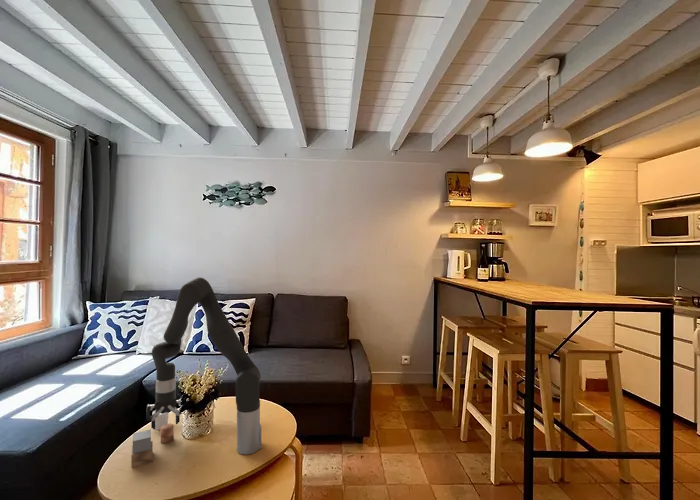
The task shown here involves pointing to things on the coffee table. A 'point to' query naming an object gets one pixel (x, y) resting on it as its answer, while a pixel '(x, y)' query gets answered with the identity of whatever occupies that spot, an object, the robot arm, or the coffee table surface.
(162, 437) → the brown rounded knob
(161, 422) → the white cylinder
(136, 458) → the tower base
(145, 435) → the tower top
